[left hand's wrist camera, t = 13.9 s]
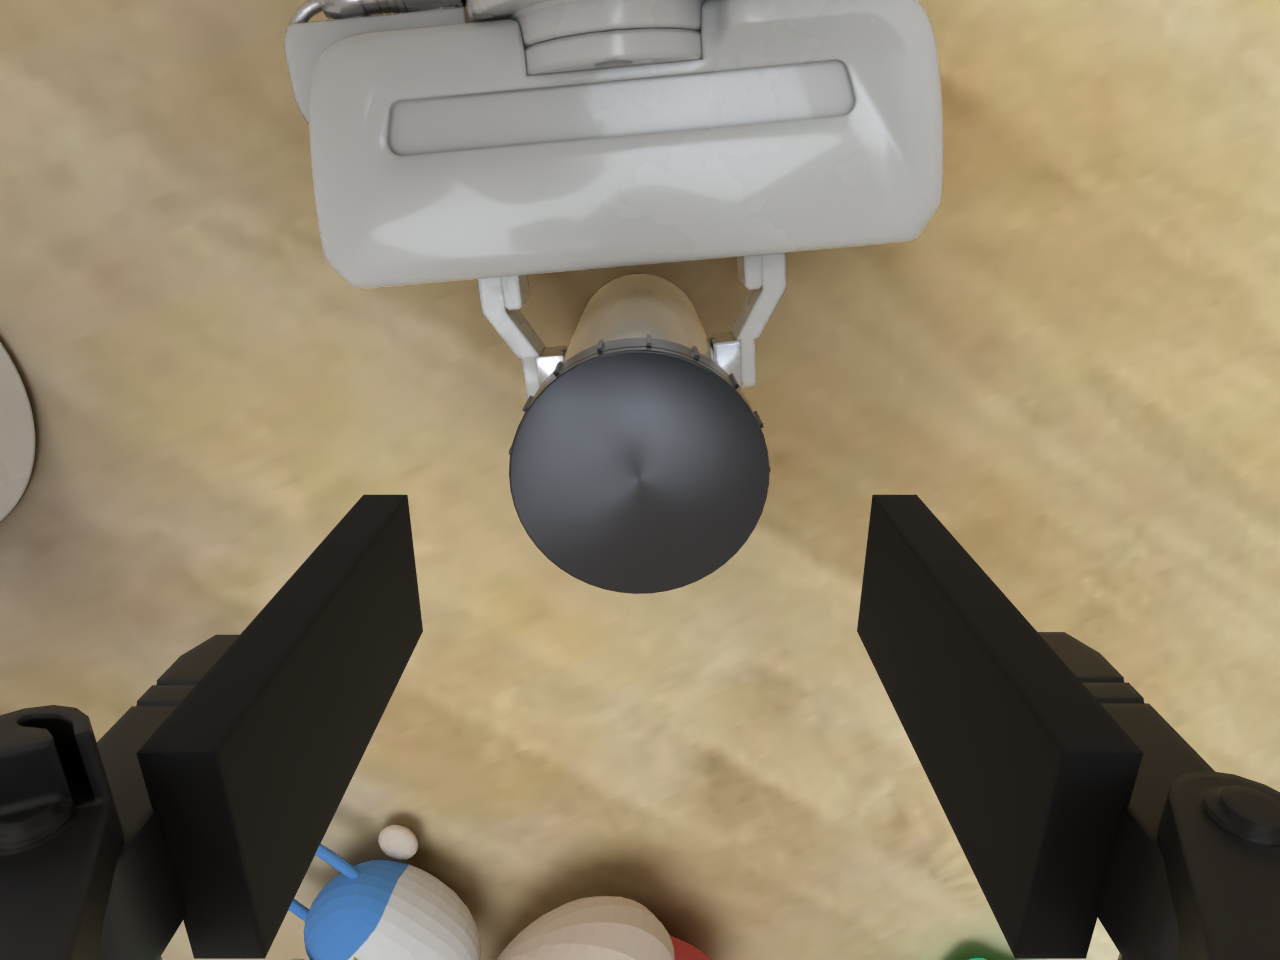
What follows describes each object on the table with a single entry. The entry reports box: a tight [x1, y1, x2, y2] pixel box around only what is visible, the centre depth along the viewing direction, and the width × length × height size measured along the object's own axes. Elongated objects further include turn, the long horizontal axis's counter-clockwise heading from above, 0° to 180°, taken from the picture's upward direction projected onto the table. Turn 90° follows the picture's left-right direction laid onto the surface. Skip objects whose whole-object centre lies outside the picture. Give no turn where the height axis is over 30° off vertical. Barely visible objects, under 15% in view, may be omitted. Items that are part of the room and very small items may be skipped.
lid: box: [509, 334, 770, 594], centre depth 19 cm, size 6×6×2 cm
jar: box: [562, 274, 719, 365], centre depth 26 cm, size 5×5×17 cm
